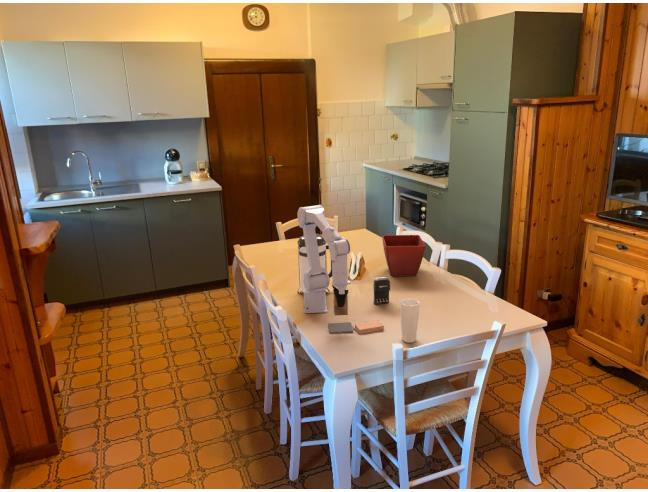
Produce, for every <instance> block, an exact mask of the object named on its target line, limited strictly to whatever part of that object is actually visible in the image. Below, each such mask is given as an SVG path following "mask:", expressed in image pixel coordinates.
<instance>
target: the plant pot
mask: <svg viewBox="0 0 648 492" xmlns="http://www.w3.org/2000/svg"><path fill="white" fill-rule="evenodd" d="M381 237H382V238H381V239H382V246H383V252H384V257H385V261H386V264H387V265H386V266H387V268H388V271H389V275H390V276H391V277H416V276H417V275H418V273H419V270H420V268H421V265H422V261H423V258H424V255H425V249H426V244H425V242H424V241H423V240H422V238H421V237H422V236H420V235H419V234H389V235H388V234H385V235H382V236H381Z"/></svg>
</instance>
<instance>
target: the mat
mask: <svg viewBox="0 0 648 492" xmlns="http://www.w3.org/2000/svg"><path fill="white" fill-rule="evenodd" d="M328 331H329V334H343V333H344V334H346V333H348V334H349V333H354V328H353V325H352V321H348V322H347V321H346V322H345V321H344V322H329V323H328Z"/></svg>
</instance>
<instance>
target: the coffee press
mask: <svg viewBox="0 0 648 492" xmlns="http://www.w3.org/2000/svg"><path fill="white" fill-rule="evenodd" d="M316 239H317V245H318V251H319V258H320V264H321V267H323V268H325V269H326V270H327V267H328V266H327V265H328V263H327V262H328V261H327V250H329V246H328V244H327V243H326V241H325V240H324V238H323V237H322V234H319V233H316ZM326 244H327V245H326ZM297 253H298V276H299V277H298V279H299V282H298V283H299V288H298V289H297V291H296V292H297V293H298V294H301V293H304V290H306V289H305V287H304V272H305V271H306V270H307V269H308V268H309V264H308V258H307V251H306V245H305V239H304V234H303V235H302V236H300V237H299V238H298V240H297ZM327 271H328V270H327ZM316 274H320V273H316ZM312 275H315V274H312ZM328 276H329V279H331V278H332V260H331V259H330V272H329V273H328ZM299 290H300V291H299ZM299 292H300V293H299ZM330 292H331V290H330V289H329V287H327V290H326V294H327V295H329V294H330Z"/></svg>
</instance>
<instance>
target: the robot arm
mask: <svg viewBox="0 0 648 492" xmlns="http://www.w3.org/2000/svg"><path fill="white" fill-rule="evenodd" d="M296 216H297V221H298V226H299V228H301V229H302V232H303V233H302V234H303V235H304V239H305V245H306V251H307V258H308V264H309V268H308V269H307V270H306V271H305V272H304V287H305V289H306V290H304V292H303V308H304V309H303V310H304V314H315V313H316V314H318V313H319V314H320V313H327V312H328V307H327V296H326V294H327V293H326V292H327V291H328V290H327V288H329V286H330V283H331V288H332V289H333V290H332V292H333V295H334V294H335V296H336V299H337V305H338V307H344V303H345V299H346V296H347V295H348V294H349V289H347V288H348V285H351V283H352V282H351V280H348V277H349V276H348V255H349V254H350V253H351V244H350V242H349V240H348V238H344V237H342V236H341V235H340V233H339V231H337V229H336V228H335V227H333V226H330V224H329V222H328V220H327V218H326V211H325V208H324V206H322V204H318V205H317V204H316V205H310V206H304V207H303V206H300V207H299V208H298V210H297V215H296ZM316 227H318V229H320V231H321V232H322V233H321V235H322V237H323V238H324V240H325V241H326V244H327V245H328V246H329V249H328V252H329V257H330V261H331V260H332V277H331V278H332V280H330V279H331V278H329V276H328V274H329V273H328V270H326V269H325V268H323V267H321V264H320V258H319V251H318V245H317V239H316V234H317V233H316ZM316 273H320V274H316ZM312 274H315V275H312ZM330 281H332V282H330Z"/></svg>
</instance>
